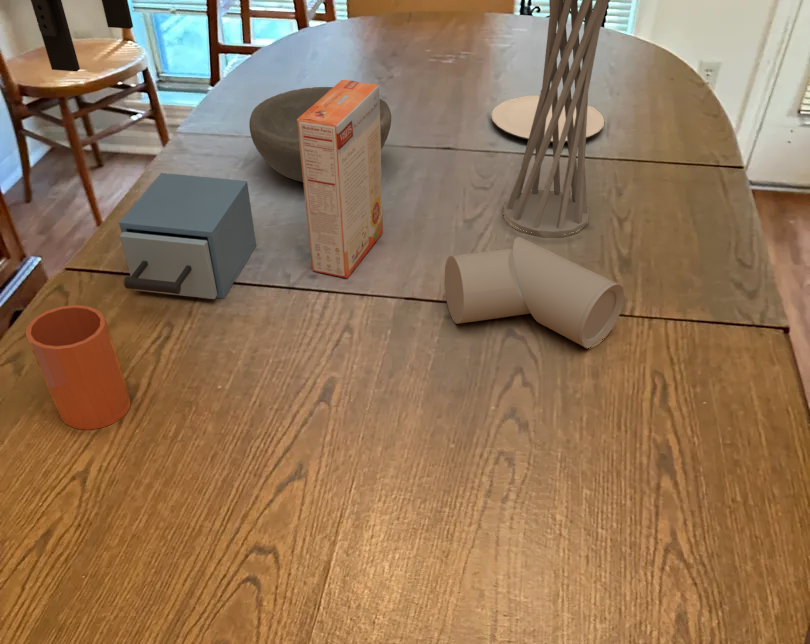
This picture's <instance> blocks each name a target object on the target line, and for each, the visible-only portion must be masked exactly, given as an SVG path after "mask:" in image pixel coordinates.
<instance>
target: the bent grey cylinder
mask: <svg viewBox="0 0 810 644" xmlns="http://www.w3.org/2000/svg"><path fill="white" fill-rule="evenodd" d="M512 244H513V245H512V247H511V248H503V249H495V250H488V251H487V250H486V251H478V252H471V253H461V254H455V255H450V256H448V258H447V259H446V262H445V267H444V293H445V299H446V304H447V309H448V312H449V315H450V317H451V319H452V321H453V322H454V323H455V324H456V325H458V324H466V323H472V322H479V321H486V320H487V321H488V320H493V319H494V320H495V319H500V318H508V317H515V316H516V317H517V316H523V315H530V314H531V316H532V317H533V319H534V320H535V321H536V322H537V323H538V324H540V325H542V326H544V327H546V328H548V329H550V330H551V331H553V332H555V333H557V334H559V335H560V336H563V337H565V338H566V339H568V340H570V341H571V342H574V343H575V344H578V345H580V346H581V347H583V348H585V349H588V348H589V347H590V346H591V345H592V344H593V343H594V342H596V341H598V339H600V338H602V337H604V336H606V337H607V336H608V335H609V334H610V332H612V330H613V328H614V326H615V325H616V323H617V321H618V320H619V317H620V315H621V312H622V309H623V306H624V302H625V289H624V287H623V285H621V284H619V283H617V282H615V281H613V280H611V279H609V278H607V277H605V276H602V275H601V274H598V273H597V272H594V271H592V270H590V269H588V268H585V267H584V266H582V265H580V264H577V263H575V262H573V261H572V260H569V259H567V258H565V257H563V256H561V255H559V254H557V253H554V252H552V251H550V250H548V249H546V248H545V247H542V246H540V245H538V244H535V243H534V242H531V241H529V240H527V239H525V238H523V237H522V236H517V237H515V239H514V240H513V243H512ZM604 340H605V339H603V340H601V341H599V342H597V343H596V344H594V345H593V346H592V347H591V348H589V349H593V348H595V347H597V346H599V344H601V343H602V342H603V341H604Z"/></svg>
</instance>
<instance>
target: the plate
mask: <svg viewBox="0 0 810 644" xmlns="http://www.w3.org/2000/svg"><path fill="white" fill-rule="evenodd" d="M559 97H560V96H558V99H559ZM539 98H540V95H524V96H519V97H514V98H510V99H507V100H504V101H502V102H500V103H499V104H498V105H497V106H495V107H494V108H493V110H492V111H491V114H490V115H491V120H492V123H493V124H494V125H495V126H496V127H497V128H498V129H499V130H500V131H503V132H504V133H506V134H508V135H511V136H514V137H516V138H518V139H523V140H527V141H528V139H529V136H530V132H531V128H532V124H533V120H534V117H535V113H536V109H537V105H538V101H539ZM551 118H552V105H551V107H550V110H549V112H548V115H547V118H546V125H545V133H546V131H547V128H548V125H549V123H550V120H551ZM575 119H576V107H575V110H574V114H573V124H574V125H575ZM565 121H566V117H565V105H564V107H563V110H562V112H561V115H560V118H559V120H558V128H559V140H560V137H561V134H562V131H563V127H564V124H565ZM604 126H605V119H604V117H603V115H602V113H600V112H599V111H598V110H597V109H596V108H595V107H593V106H591V105H589V104H588V106H587V126H586V139H589V138H591V137H594V136H596V135H598V134H599V133H600V132H601V131H602V129H603V128H604ZM544 136H545V134H544ZM551 143H552V144H553V136H552V138H551V141H550V143H549V144H551ZM565 143H568V141H567V136H566V140H565Z"/></svg>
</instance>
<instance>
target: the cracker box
mask: <svg viewBox="0 0 810 644" xmlns="http://www.w3.org/2000/svg"><path fill="white" fill-rule="evenodd" d="M332 87H333V88H332V89H331V90H330V91H329V92H327V93H326V94H325V95H324V96H323V97H322V98H321V99H320V100H318V101H317V102H316V103H315V104H314V105H313V106H312V107H310V108H309V109H308V110H307V111H306V112H305V113H303V114H302V115H301V116H300V117H299V118H298V119H297V126H298V135H299V146H300V155H301V165H302V174H303V182H302V183H303V193H304V203H305V211H306V221H307V222H306V223H307V231H308V240H309V251H310V260H311V269H312V272H316V273H320V274H325V275H331V276H335V277H340V278H344V279H348V278H349V277H350V276H351V274H352V273H353V272H354V270H355V269H356V268H357V266H358V265H359V264H360V262H361V261H362V260H363V259H364V257H365V256H366V255H367V254H368V253H369V251H370V250H371V249H372V248H373V246H374V245H375V244H376V242H377V241H378V240H379V239H380V237H381V236H382V234H383V232H384V222H383V221H384V220H383V182H382V181H383V179H382V149H381V134H380V99H381V98H380V85H379V84H375V83H367V82H360V81H355V80H350V79H349V80H348V79H340V81H338V82H337V83H336V84H335V85H334V86H332Z"/></svg>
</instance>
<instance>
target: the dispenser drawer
mask: <svg viewBox="0 0 810 644" xmlns="http://www.w3.org/2000/svg"><path fill="white" fill-rule="evenodd" d="M133 231H134V233H130V232H123V233H121V234H120V235H119V239H120V243H121V246H122V251H123V253H124V257H125V261H126V265H127V269H128V272H129V276H126V277H125V278H124V279H123V285H124V288H125V289H130V290H134V291H138V292H146V293H147V292H148V293H154V294H155V293H157V294H164V295H173V296H183V297H191V298H199V299H200V298H201V299H207V300H208V299H209V300H216V299H217V298H216V296H217V290H216V280H215V275H214V270H213V265H212V259H211V254H210V249H209V243H208V238H207V237H201V236H192V235H182V234H173V233H163V232H153V231H144V230H134V229H133Z"/></svg>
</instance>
